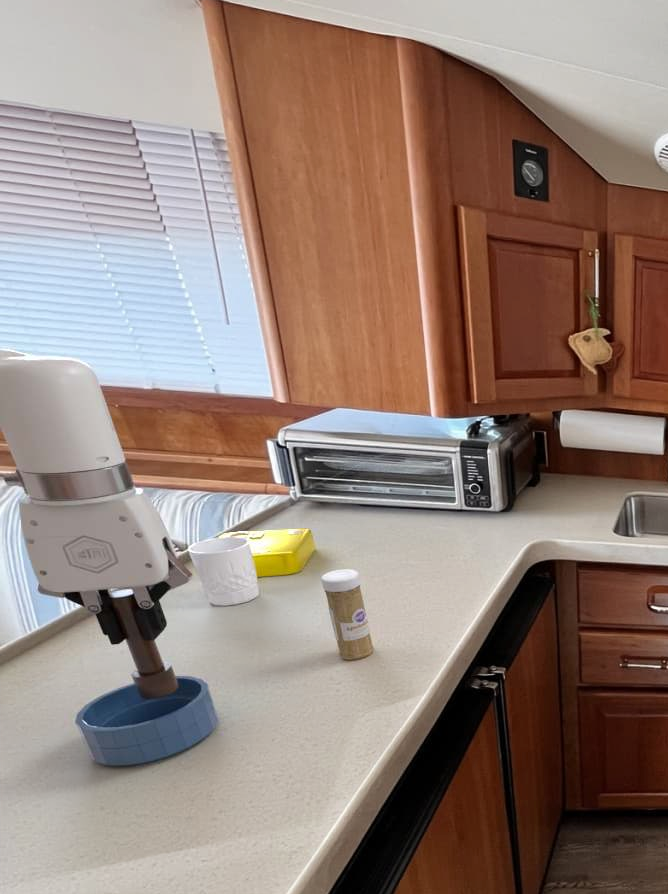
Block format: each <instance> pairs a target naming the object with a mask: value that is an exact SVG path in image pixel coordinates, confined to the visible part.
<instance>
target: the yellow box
mask: <svg viewBox="0 0 668 894" xmlns="http://www.w3.org/2000/svg"><path fill="white" fill-rule="evenodd" d="M313 536H314V535H313V531H312V530H311V529H310V528H295V529H294V528H293V529H274V530H256V531H234V532H225V533H223V534H221V535H220V536H218V537H217V538H221V537H243V538H246V539H248V540H249V541H250V545H251V550H252V555H253V560H254V564H255V569H256V576H257V578H263V577H264V578H265V577H279V576H289V575H294V574H298V573H299V572H301V571H302V570H303V569H304V568H305V566H306V565H307V563H308V561H309V560H310V558H311V557H312V555H313V554H314V553H315V550H316V544H315V540H314V537H313Z"/></svg>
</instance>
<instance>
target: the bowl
mask: <svg viewBox="0 0 668 894" xmlns="http://www.w3.org/2000/svg"><path fill="white" fill-rule="evenodd" d="M175 676H176V679H177V682H178V685H179V687H178V689H177V690H176V691H174V692H173V693H171V694H169V695H166V696H163V697H160V698H155V699H143V698H141V697H140V696H139V693H138V691H137V688H136V686H135V683H134V682H133V683H129V684H127V685H124V686H121V687H118V688H114V689H113V690H111V691H108V692H106V693H104V694H102V695H100V696H98V697H96V698H94V699H93V700H91V701H90V702H88V703H87V704H85V705H84V706H83V707H82V708H81V709H80V710H79V711H78V712H77V713H76V717H75V720H74V724H75V725H76V728H77V730H78V732H79V734H80V737H81V739H82V741H83V743H84V745H85V747H86V750H87V752H88V755H89V757H90V758H91V759H92V760H93V761H94V762H96V763H98V764H102V765H106V766H132V765H133V766H134V765H142V764H146V763H151V762H155V761H159V760H163V759H166V758H168V757H171V756H173V755H176V754H179V753H180V752H183V751H186V750H187V749H189V748H190V747H192V746H194V745H196V744H197V743H199V742H200V741H202V740H203V739H204V738H205V737H207V736H208V735H209V734H211V733H212V732H213V731H214V729H215V728H216V726H217V724H218V723H219V715H218V714H219V713H218V711H217V708H216V706H215V703H214V700H213V696H212V693H211V690H210V687H209V684H208V683H207V682H206V681H205V680H203V678H201V677H197V676H192V675H175Z"/></svg>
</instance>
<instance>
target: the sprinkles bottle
mask: <svg viewBox="0 0 668 894" xmlns="http://www.w3.org/2000/svg"><path fill="white" fill-rule="evenodd" d="M361 583H362V581H361V577H360V574H359V572H358V571H357V570H354V569H345V568H343V569H336V570H332V571H329V572H326V573H324V574H323V575H322V576H321V585H322V589H323V592H324V593H325V596H326V601H327V605H328V612H329V617H330V620H331V625H332V629H333V633H334V637H335V640H336V643H337V648H338V656H339V657H340V658H341V659H342V660H349V661H351V660H358V659H362V658H365V657H367V656H370V655H371V654H372V653H373V652H374V649H375V648H374V645H373V642H372V638H371V632H370V631H371V630H370V625H369V621H368V616H367V612H366V609H365V603H364V598H363V594H362V589H361Z"/></svg>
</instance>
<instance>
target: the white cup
mask: <svg viewBox="0 0 668 894" xmlns="http://www.w3.org/2000/svg"><path fill="white" fill-rule="evenodd" d="M187 552H188V554H189V557H190V558H191V559H190V560H191V561H192V564H193V566H194V569H195V572H196V575H197V578H198V580H199V581H200V584H201V586H202V588H203V590H204V593H205V595H206V597H207V600H208V603H209V604H212V605H213V606H222V607H224V606H225V607H226V606H234V605H239V604H243V603H247V602H250V601H252V600H254V599H256V598H258V597H259V596H260V590H259V585H258V577H257V576H256V569H255V564H254V560H253V555H252V550H251V545H250V541H249V540H248V539H246V538H243V537H221V538H218V537H213V538H209V539H205V540H201V541H198V542H195V543H193V544H191V545H189V546H188V547H187Z"/></svg>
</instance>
